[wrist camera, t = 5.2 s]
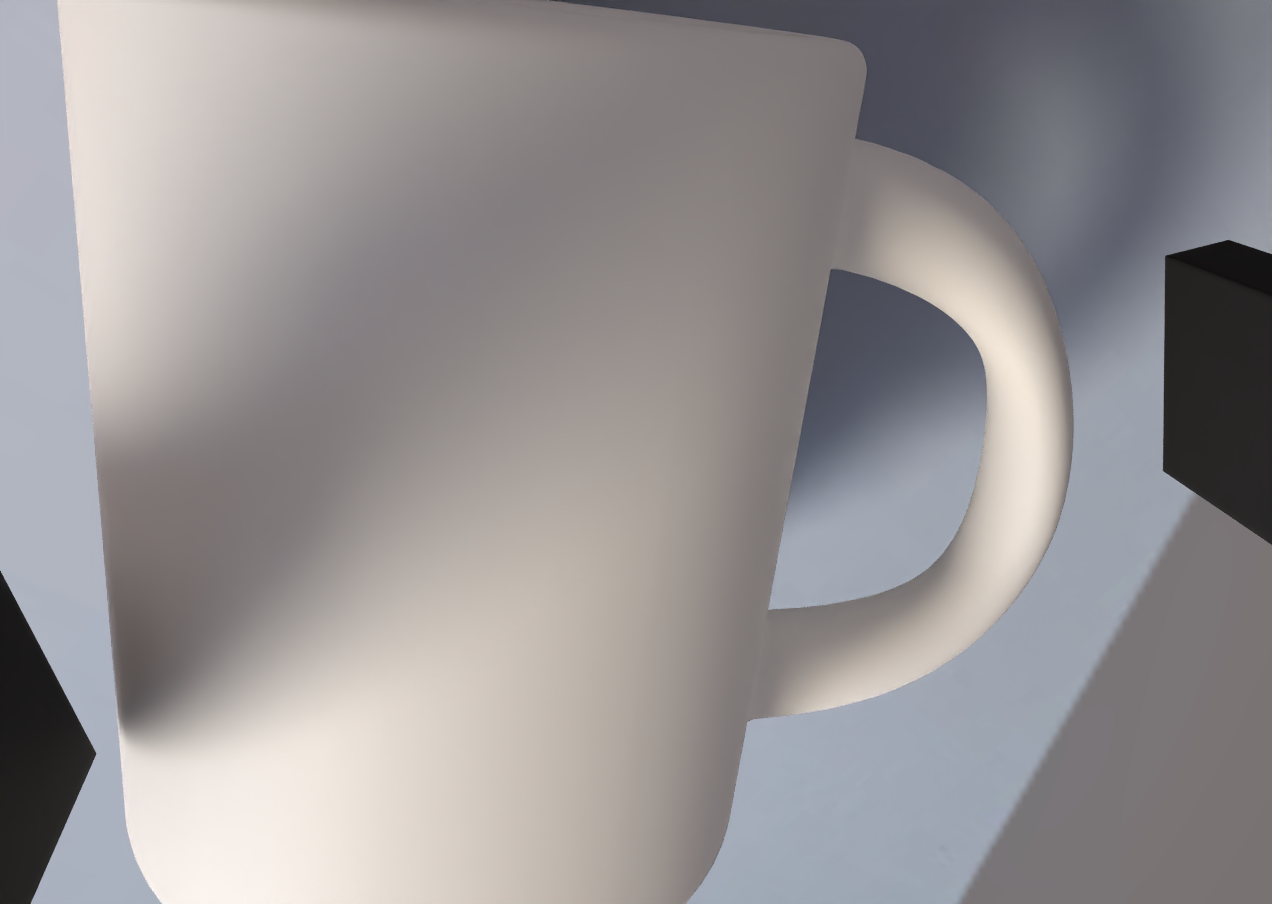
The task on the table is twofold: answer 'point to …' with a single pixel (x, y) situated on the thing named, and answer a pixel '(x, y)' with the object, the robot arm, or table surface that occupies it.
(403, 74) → the mug
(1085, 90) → the table surface
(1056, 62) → the table surface
